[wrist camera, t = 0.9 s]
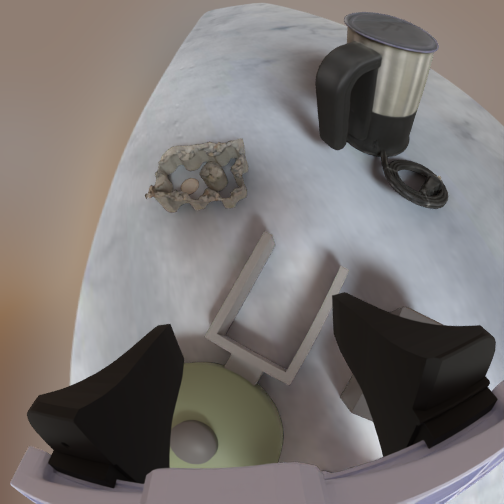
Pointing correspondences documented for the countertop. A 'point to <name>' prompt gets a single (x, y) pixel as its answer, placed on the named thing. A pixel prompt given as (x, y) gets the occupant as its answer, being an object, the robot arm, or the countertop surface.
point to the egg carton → (210, 174)
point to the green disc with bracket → (236, 388)
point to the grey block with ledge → (353, 391)
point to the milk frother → (378, 96)
